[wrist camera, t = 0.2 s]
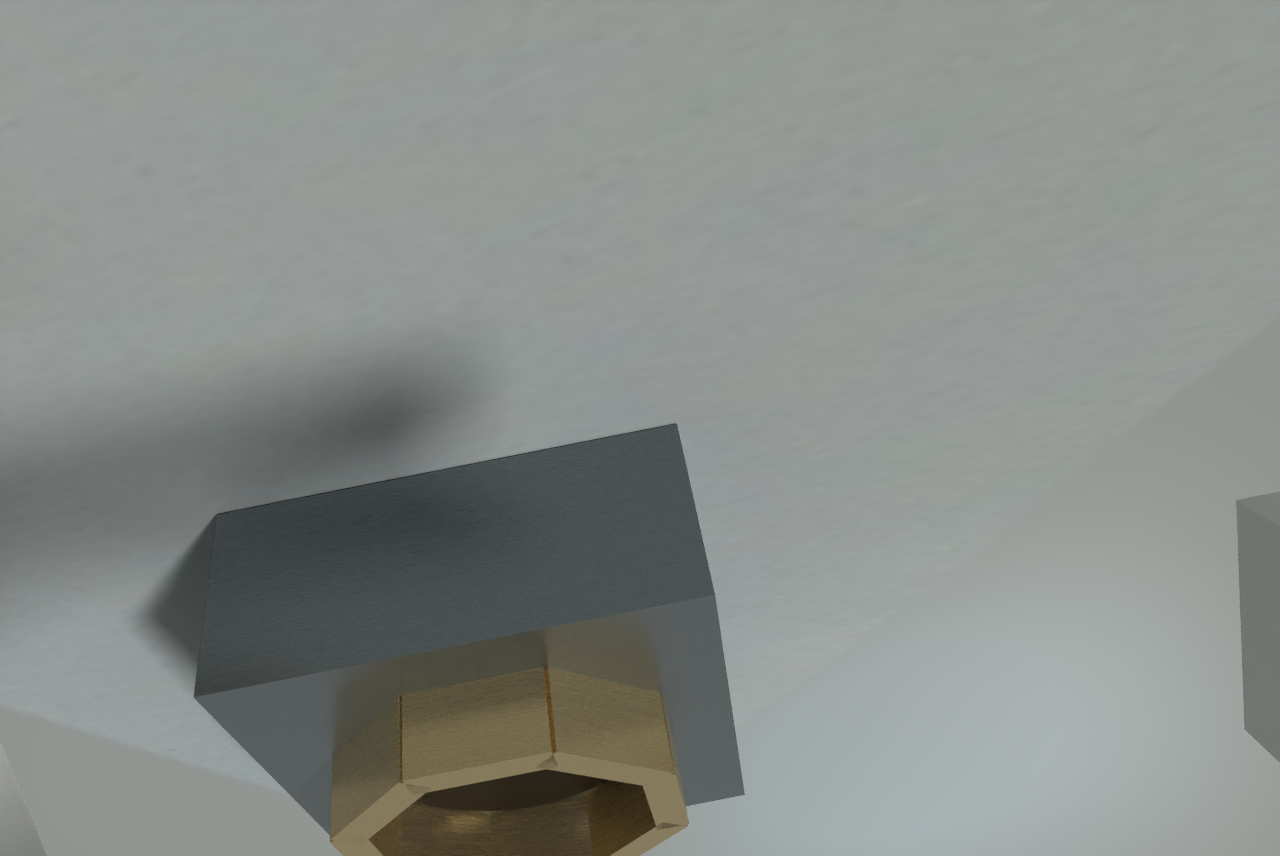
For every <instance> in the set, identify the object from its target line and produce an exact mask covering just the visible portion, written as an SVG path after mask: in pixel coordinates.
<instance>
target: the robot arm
mask: <svg viewBox="0 0 1280 856" xmlns="http://www.w3.org/2000/svg"><path fill="white" fill-rule="evenodd" d="M1236 505H1237V531H1238V532H1237V533H1238V557H1239V558H1238V561H1239V586H1240V587H1239V588H1240V615H1241V643H1242V666H1243V667H1242V670H1243V697H1244V725H1245V730H1246V731H1247V732H1248V733H1249V734H1250V735H1251V736H1252V737H1253V738H1254V739H1255V740H1256V741H1258V742H1259V743H1260V744H1261V745H1262V746H1263V747H1264V748H1265V749H1266V750H1267V751H1268V752H1269V753H1270V754H1271V755H1272V756H1273V757H1275V758H1276V759H1277V760H1278V761H1279V762H1280V492H1275V493H1270V494H1265V495H1260V496H1255V497H1249V498H1245V499H1239V500H1236ZM0 856H47V855H46V853H45V850H44V848H43V845H42V843H41V840H40V838H39V836H38V833H37V831H36V828H35V826H34V823H33V821H32V818H31V816H30V814H29V811H28V808H27V806H26V804H25V801H24V799H23V796H22V794H21V791H20V789H19V786H18V784H17V781H16V779H15V777H14V775H13V772H12V769H11V767H10V764H9V762H8V759H7V757H6V754H5V752H4V750H3V748H2V745H1V742H0Z"/></svg>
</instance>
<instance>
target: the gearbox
mask: <svg viewBox="0 0 1280 856" xmlns="http://www.w3.org/2000/svg"><path fill="white" fill-rule="evenodd" d="M194 698H195V699H196V700H197V701H198V702H199V703H200V704H201V705H202V706H203V707H204V708H205V709H206V710H207V711H208V712H209V713H210V714H211V715H212V716H213V717H214V718H215V719H216V720H217V722H218V723H219V724H220V725H221V726H222V727H223V728H224V729H225V730H226V731H227V732H228V733H229V734H230V735H231V736H232V737H233V738H234V739H235V740H236V741H237V742H238V743H239V744H240V745H241V746H242V747H243V748H244V749H245V750H246V751H247V752H248V753H249V754H250V755H251V756H252V757H253V758H254V759H255V760H256V761H257V762H258V763H259V764H260V765H261V766H262V767H263V768H264V769H265V770H266V771H267V772H268V773H269V774H270V775H271V776H272V777H273V778H274V779H275V780H276V781H277V782H278V783H279V784H280V785H281V786H282V787H283V788H284V789H285V790H286V791H287V792H288V793H289V794H290V795H291V796H292V797H293V798H294V799H295V800H296V801H297V802H298V803H299V804H300V805H301V806H302V807H303V808H304V809H305V810H306V811H307V812H308V813H309V814H310V815H311V816H312V817H313V819H314V820H315V821H316V822H317V823H319V825H321V827H323V829H324V830H325V831H326V832H327V833H328V834H329V835H330V843H331V844H332V845H333V846H334V847H335V848H336V849H337V850H338V851H339V852H340V853H341V854H343V856H640V855H642V854H643V853H645V852H646V851H648V850H650V849H651V848H653V847H654V846H656V845H658V844H659V843H661V842H663V841H664V840H666V839H668V838H669V837H671V836H672V835H674V834H676V833H677V832H679V831H680V830H682V829H684V828H685V827H687V826H688V824H689V821H688V816H687V811H686V806H689V805H694V804H699V803H704V802H709V801H715V800H720V799H725V798H729V797H735V796H740V795H744V788H743V782H742V774H741V768H740V761H739V754H738V747H737V740H736V734H735V727H734V720H733V713H732V707H731V700H730V693H729V687H728V680H727V673H726V666H725V660H724V653H723V646H722V639H721V633H720V626H719V619H718V613H717V606H716V599H715V593H714V589H713V584H712V580H711V575H710V571H709V566H708V562H707V557H706V553H705V548H704V544H703V539H702V535H701V530H700V526H699V521H698V517H697V512H696V508H695V503H694V499H693V494H692V490H691V485H690V481H689V476H688V472H687V467H686V463H685V458H684V454H683V449H682V445H681V440H680V436H679V431H678V427H677V424H673V425H668V426H663V427H658V428H653V429H648V430H643V431H638V432H633V433H628V434H623V435H617V436H612V437H607V438H602V439H597V440H592V441H587V442H582V443H577V444H572V445H567V446H562V447H557V448H552V449H547V450H542V451H536V452H531V453H526V454H521V455H516V456H511V457H506V458H501V459H496V460H491V461H486V462H481V463H476V464H471V465H466V466H461V467H455V468H450V469H445V470H440V471H435V472H430V473H425V474H420V475H415V476H410V477H405V478H400V479H395V480H390V481H385V482H380V483H374V484H369V485H364V486H359V487H354V488H349V489H344V490H339V491H334V492H329V493H324V494H319V495H314V496H309V497H304V498H298V499H293V500H288V501H283V502H278V503H273V504H268V505H263V506H258V507H253V508H248V509H243V510H238V511H233V512H228V513H223V514H217V516H216V524H215V532H214V540H213V548H212V556H211V563H210V571H209V579H208V587H207V595H206V603H205V611H204V619H203V627H202V635H201V643H200V651H199V659H198V667H197V675H196V683H195V691H194Z"/></svg>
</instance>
